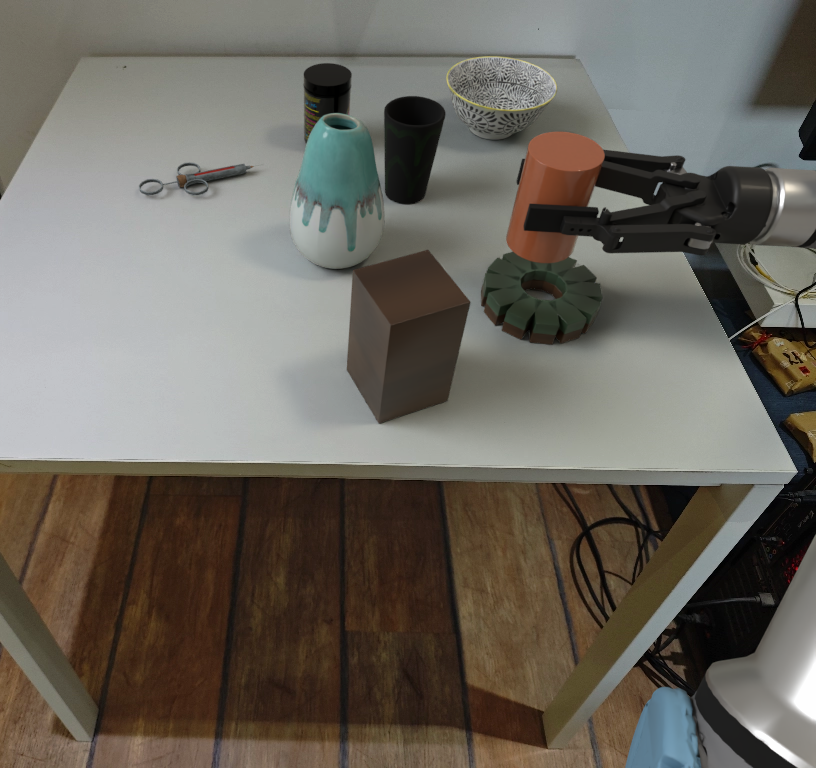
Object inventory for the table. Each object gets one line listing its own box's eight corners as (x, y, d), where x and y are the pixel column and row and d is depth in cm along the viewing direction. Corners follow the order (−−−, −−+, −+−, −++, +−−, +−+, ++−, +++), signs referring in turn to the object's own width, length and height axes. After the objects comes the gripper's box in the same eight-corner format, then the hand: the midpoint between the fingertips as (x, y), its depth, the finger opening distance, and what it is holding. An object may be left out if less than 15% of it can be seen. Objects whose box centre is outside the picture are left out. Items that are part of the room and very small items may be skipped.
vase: (361, 215, 96) (370, 85, 82) (395, 269, 89) (411, 137, 75) (278, 233, 94) (273, 102, 80) (306, 289, 86) (306, 156, 73)
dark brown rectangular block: (447, 401, 75) (471, 301, 64) (378, 424, 73) (390, 325, 62) (412, 349, 80) (428, 249, 69) (346, 369, 78) (352, 269, 67)
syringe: (273, 184, 101) (272, 173, 100) (146, 210, 97) (143, 199, 96) (256, 155, 106) (256, 145, 104) (134, 179, 102) (132, 169, 100)
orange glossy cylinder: (582, 262, 76) (615, 169, 67) (514, 264, 76) (539, 172, 67) (563, 221, 80) (591, 130, 72) (499, 223, 80) (520, 132, 72)
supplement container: (335, 159, 105) (338, 90, 97) (295, 147, 107) (294, 78, 99) (356, 137, 109) (360, 69, 101) (316, 126, 111) (317, 59, 103)
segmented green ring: (617, 325, 82) (626, 306, 80) (520, 356, 79) (526, 337, 77) (551, 257, 90) (557, 238, 88) (460, 284, 87) (464, 264, 85)
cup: (395, 170, 103) (403, 89, 94) (442, 188, 100) (456, 106, 91) (366, 196, 99) (372, 114, 90) (415, 215, 96) (426, 133, 87)
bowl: (566, 133, 109) (580, 85, 104) (494, 169, 103) (505, 120, 97) (488, 92, 118) (498, 46, 112) (417, 123, 111) (423, 76, 106)
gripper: (768, 303, 68) (523, 287, 70) (713, 181, 81) (507, 170, 83) (810, 239, 63) (542, 223, 64) (743, 119, 76) (522, 109, 77)
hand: (523, 193), depth 74 cm, fingers closed on orange glossy cylinder, 7 cm apart
